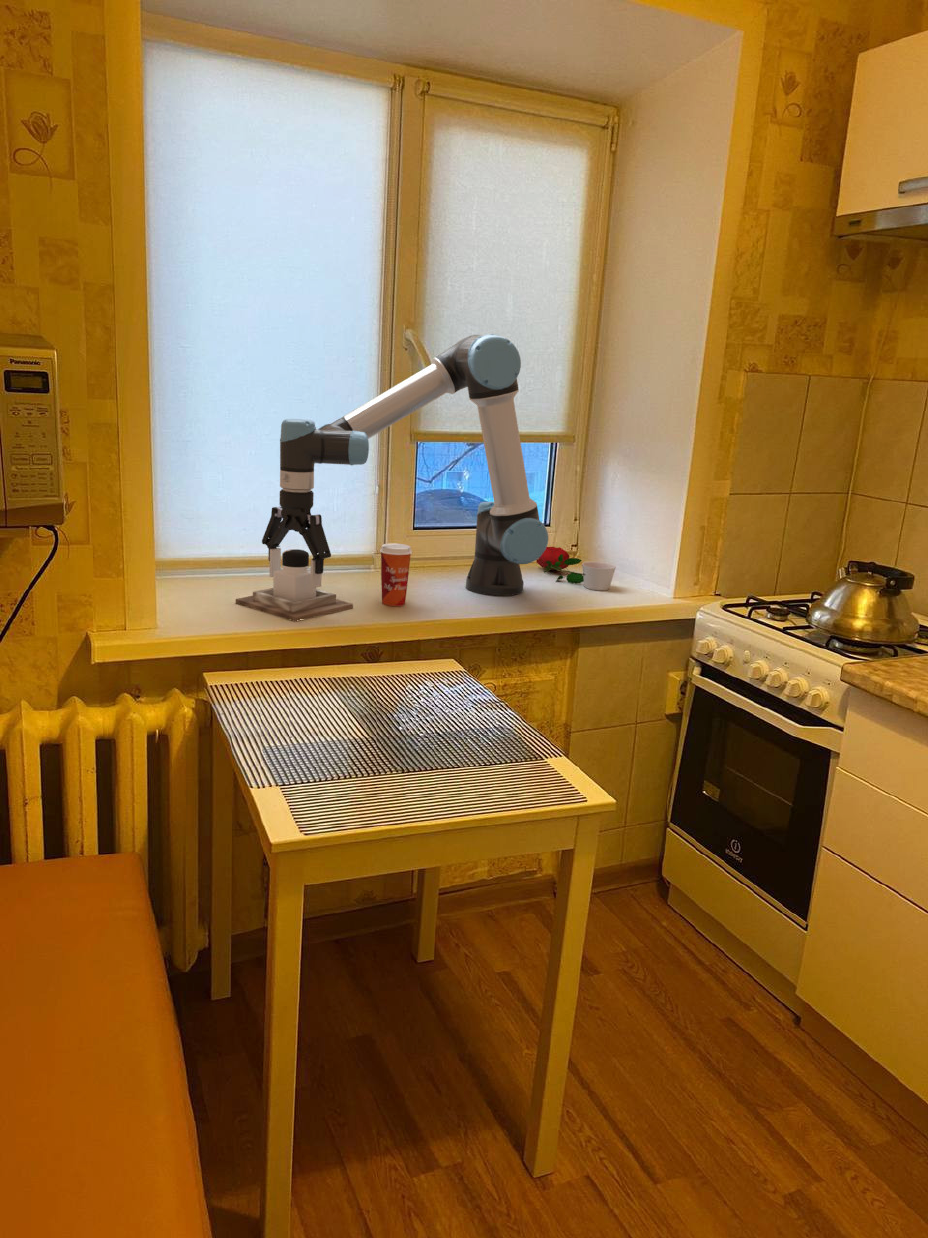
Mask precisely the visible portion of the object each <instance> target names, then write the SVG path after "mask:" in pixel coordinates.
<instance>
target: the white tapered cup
mask: <svg viewBox="0 0 928 1238" xmlns="http://www.w3.org/2000/svg"><path fill="white" fill-rule="evenodd" d="M581 565H582V574H583V573H584V574H585V575H583V580H584V582H583V586H584V588H586V589H588V590H593V591H601V590H602V591H608V590H610V588H611V585H612V581H613V577H614V574H615V571H616V565H614V564H612V563H609V562H608V563H607V562H601V561H584V562H582V564H581Z"/></svg>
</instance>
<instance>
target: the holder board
mask: <svg viewBox="0 0 928 1238" xmlns="http://www.w3.org/2000/svg"><path fill="white" fill-rule="evenodd" d="M235 604H238V605H240V606H244V607H246V608H250V609H253V610H257V611H260V612H262V613H263V612H264V613H266V614H270V615H272V616H277V617H280V618H283V619H285V620H289V619H291V620H290V621H292V620H294V621H293V622H295V621H296V622H298V621H297V620H300V619H305V620H308V619H312V618H317V617H321V616H324V615H330V614H333V613H338V612H342V611H346V610H350V609H353V608H354V604H353V603H351V602H347V601H344V600H340V599H337V594H336V593H332V592H329V591H325V590H321V589H318V588H316V597H313V598H308V599H304V600H299V601H294V602H293V601H289V600H286V599H283V598H279V597H276V596H273V587H272V588H271V587H270V588H265V589H260V590H256V591H253V592H252V595H250V596H249V595H247V596H243V597H238V598H235ZM300 621H301V620H300Z"/></svg>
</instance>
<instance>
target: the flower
mask: <svg viewBox="0 0 928 1238" xmlns="http://www.w3.org/2000/svg"><path fill="white" fill-rule="evenodd" d="M535 561H536V564H538V565H539V566H540V567H542V568H543V567H544V569H545V570H544V571H543V572H545V573H547V572H549V571H551V570H553V571H555V570H559V571H558V572H564V573H566V572H567V573H566V574H565V576H563V575H561V574H560V575H558V577H557V579H556V580H555V582H557V581H558V580H562V579H565V578H566V581H567V582H568V583H569V582H570V584H574V583H575V584H576V585H577V584H582V583H584V580H583V575H585V574H584V573H583V572H582V573H581V572H574V571H571V570H569V569H568V567H569V566H573V565H575V566H576V565H577V564H579V563H581V561H582V559H580V558H575V557H570V554H569V553H568V552H567V551H566V550H565V549H564V548H562V547H555V546H547V547H546V550H545V551H544V552H543V554H542V555H541V556H540V557H539V558H538V559H537V560H535ZM565 569H567V570H565Z"/></svg>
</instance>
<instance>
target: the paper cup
mask: <svg viewBox="0 0 928 1238" xmlns="http://www.w3.org/2000/svg"><path fill="white" fill-rule="evenodd" d="M379 552H380V582H381V583H380V584H381V602H382V605H385V606H388V607H390V606H391V607H400V606H405V605H406V599H407V592H408V591H407V589H408V584H409V583H408V581H409V573H410V564H411V563H410V562H411V556H412V555H411V554H413V551H412V548H411V546H410V545H408V544H403V543H394V542H393V543H391V542H390V543H383V544H382V545H381V547H380V549H379Z"/></svg>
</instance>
